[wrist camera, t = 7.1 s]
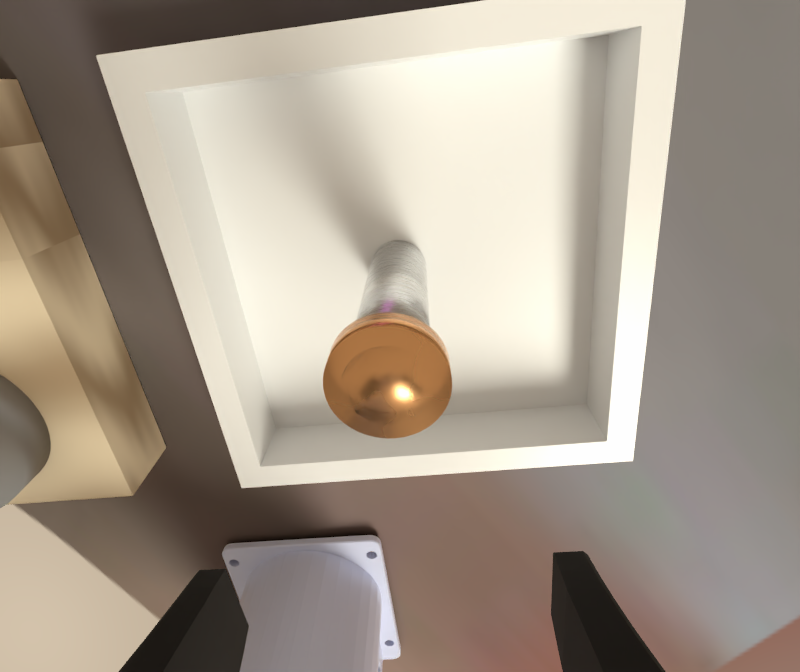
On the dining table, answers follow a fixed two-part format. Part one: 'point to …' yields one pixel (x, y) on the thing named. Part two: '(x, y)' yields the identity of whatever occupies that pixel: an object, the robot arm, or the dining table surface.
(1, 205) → the block
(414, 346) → the pin
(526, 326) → the tray
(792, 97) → the dining table surface
